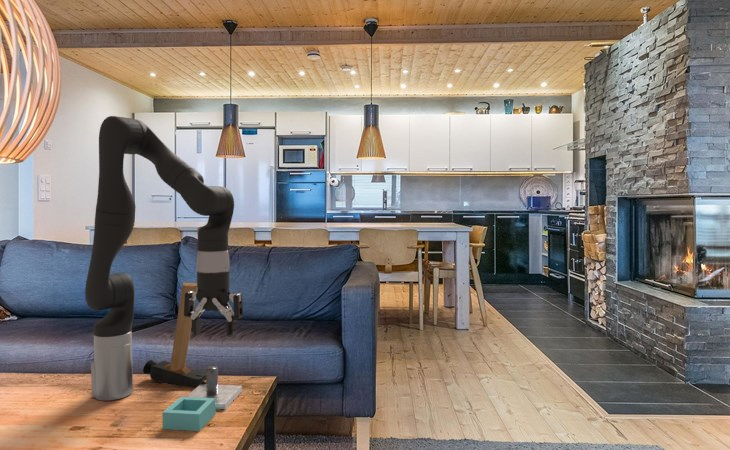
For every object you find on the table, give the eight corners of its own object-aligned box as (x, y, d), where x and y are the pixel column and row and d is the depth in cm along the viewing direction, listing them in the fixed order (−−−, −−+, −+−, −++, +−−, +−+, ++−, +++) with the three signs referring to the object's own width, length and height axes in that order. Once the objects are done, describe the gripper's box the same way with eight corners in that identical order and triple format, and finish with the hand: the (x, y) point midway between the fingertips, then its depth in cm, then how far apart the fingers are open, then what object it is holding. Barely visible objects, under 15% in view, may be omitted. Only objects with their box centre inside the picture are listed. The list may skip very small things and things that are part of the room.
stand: (180, 407, 124) (179, 375, 124) (200, 389, 136) (200, 359, 136) (225, 409, 123) (224, 377, 123) (241, 391, 135) (241, 361, 134)
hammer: (211, 389, 142) (227, 290, 139) (201, 395, 137) (217, 294, 134) (153, 370, 146) (167, 275, 143) (141, 376, 142) (156, 277, 139)
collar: (162, 429, 113) (162, 412, 112) (181, 412, 122) (180, 396, 121) (199, 431, 112) (199, 414, 111) (215, 413, 121) (215, 398, 120)
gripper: (177, 270, 114) (178, 337, 115) (234, 272, 111) (234, 341, 112) (193, 265, 121) (194, 329, 122) (247, 267, 119) (247, 332, 120)
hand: (213, 334), depth 117 cm, fingers open, 8 cm apart
